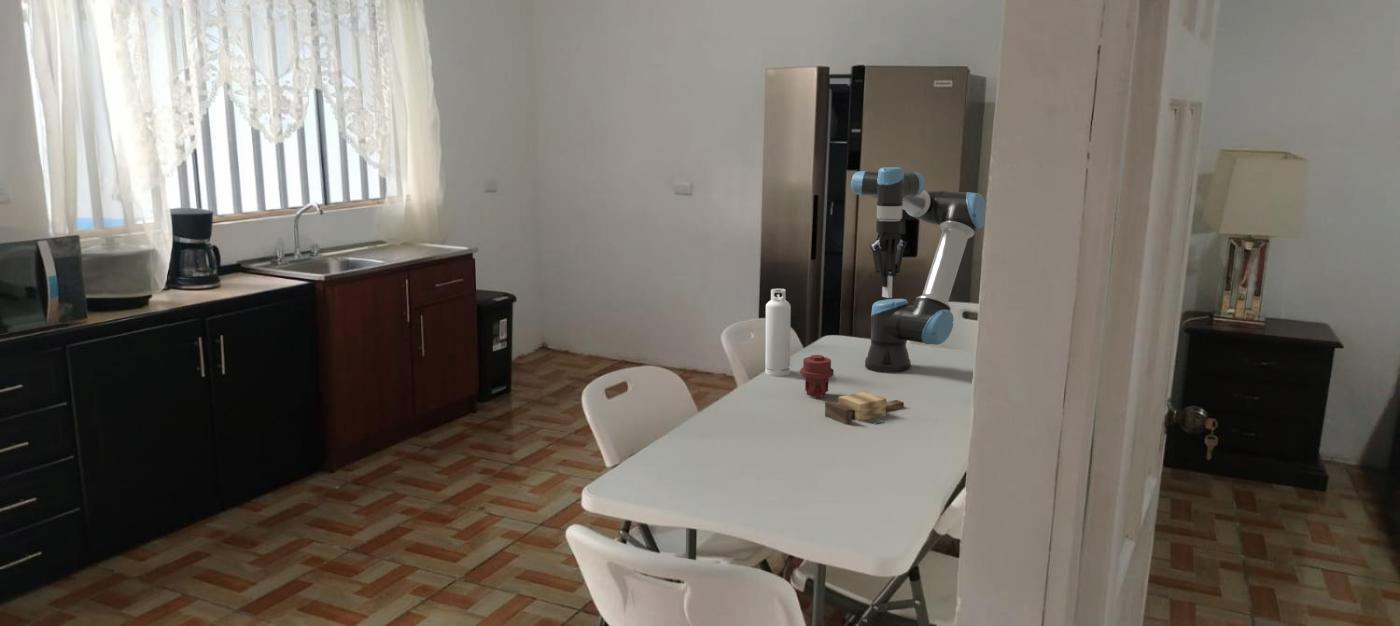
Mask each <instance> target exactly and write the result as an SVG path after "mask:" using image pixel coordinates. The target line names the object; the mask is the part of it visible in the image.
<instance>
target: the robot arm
mask: <svg viewBox="0 0 1400 626" xmlns="http://www.w3.org/2000/svg"><path fill="white" fill-rule="evenodd" d="M925 184H926V183H925V178H924V177H923V175H922V174H921V173H919V172H916V171H908V172H904V169H903V168H902V167H894V166H893V167H892V166H891V167H886V166H884V167H880V168H879V169H878V171H871V170H862V171H861V170H859V171H856V172H854V174H853V175H852V177H851V181H850V187H851V191H852V192H853V194H855V195H856V196H857V195H858V196H869V197H871V198H874V199H876V200H877V201H876V218H877V219H878V220H876V222H875V223H876V229H875V230H876V233H877V237H876V240H875V242H874V243H871V244H870V245H869V247H870V249H871V251H872V256H873V263H874V269H875V270H874V271H875V274H876V275H879V276H880V277H881V279H880V280H881V281H880V282H881V283H880V286H881V287H882V288H881V297H882V298H886V299H882V300H877V301H875V302H873V304H872V307H871V314H870V317H871V319H870V322H871V324H870V325H871V326H870V346H869V348H868V352H867V357H865V360H864V368H866V369H868V370H870V371H874V372H878V373H889V374H890V373H892V374H893V373H894V374H896V373H903V372H907V371H908V372H909V370H911V366H912V364H911V361H912V360H911V359H910V356H909V353H908V348H907V341H910V342H915V343H921V344H925V345H941V344H943V343H945V341H946V340H948V338H949V336H950V335H951V333H952V330H953V328H954V323H953V322H954V320H955V319H954V314H953V313H952V311H951V309H952V308H951V306H950V304H949V300H950V297H951V293H952V291H953V290H952V289H953V287H954V284H955V281H956V278H957V275H958V271H959V268H960V265H961V261H962V259H963V256H964V253H965V249H966V246H967V242H968V239H971V238H972V237H973V236H974V235H975V233H976V229H977V230H978V229H982V228H983V227H984V226H985V225H984V214H985V203H986V201H985V198H984V196H983V195H982V194H981V193H977V192H970V191H967V192H966V191H965V192H964V191H950V190H949V191H948V190H947V191H945V190H924V189H925V186H926V185H925ZM903 210H904V211H905V212H906V213H907V215H909V216H911V217H913V218H915V219H917V220H921V221H922V222H925V223H928V224H930V225H931V224H932V225H935V226H939V229H940V230H941V231H942V232H941V235H940V238H939V240H938V245H937V248H936V249H935V250H936V251H935V253H934V256H933V261H932V263H931V267H930V269H929V272H928V276H927V279H926V281H925V284H924V285H925V286H924V289H923V291H922V294H921V295H919V296H917V297H916V298H915V300H914V304H913V305H912V304H911V305H909V301H908V300H907V299H906V298H893V286H894V281H895V279H894V278H895V277H897V276H898V274H899V273H900V270H901V267H902V261H903V256H904V253H905V248H906V247H907V244H908V242H907V241H904V240H903V239H902V237H901V233H902V231H903V221H902V219H903Z"/></svg>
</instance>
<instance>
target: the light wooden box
mask: <svg viewBox="0 0 1400 626" xmlns="http://www.w3.org/2000/svg"><path fill="white" fill-rule="evenodd" d="M837 398H838V399H837V402H838V403H837V404H839V405H842V406H844V407H847V408H850V409H852V410H854V411H855V418H854V421H856V422H863V421H867V420H868V421H869V420H872V419H877V418H881V417H884V416H886V415H887V411H886V402H887V398H885V397H882V396H880V395H877V394H874V393H870V392H868V391H866V390H865V391H861V392H860V391H859V392H855V393H850V394H846V395H841V396H838V397H837Z"/></svg>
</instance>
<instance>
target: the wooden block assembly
mask: <svg viewBox="0 0 1400 626" xmlns="http://www.w3.org/2000/svg"><path fill="white" fill-rule="evenodd" d="M904 404H905V402H904V401H901V400H898V399H894V400H893V399H892V400H890V401H886V412H888V411H893V410H897V409H901V408H904V407H905V406H904ZM824 416H825V417H827V418H829V419H831V420H834V421H836V422H839V423H841V424H844V425H849V424H852V419H855V411H854V410H852V409H850V408H847V407H844V406H842V405H839V404H838V403H836V402H834V401H826V402H825V403H824ZM868 422H870V423H872V424H875V425H878V424H882V423H885V421H884V420H881V419H880V418H872V419H868Z"/></svg>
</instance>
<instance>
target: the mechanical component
mask: <svg viewBox="0 0 1400 626" xmlns="http://www.w3.org/2000/svg"><path fill="white" fill-rule="evenodd" d="M802 363H803V364H802V367H801V368H800V371H799V372H800V376H802V377H803V378H804V391H805V392H806V395H807V396H811V397H813V398H814V399H820V398H821V397H822V396H825V395H826V394H827V393H828V391H829V379H830V378H832V377H833V376H834V369H833V368H832V360H831V358H829V357H825V356H824V355H821V354H813V355H812V354H811V355H810V356H807V357H804V358H803V361H802Z"/></svg>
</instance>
